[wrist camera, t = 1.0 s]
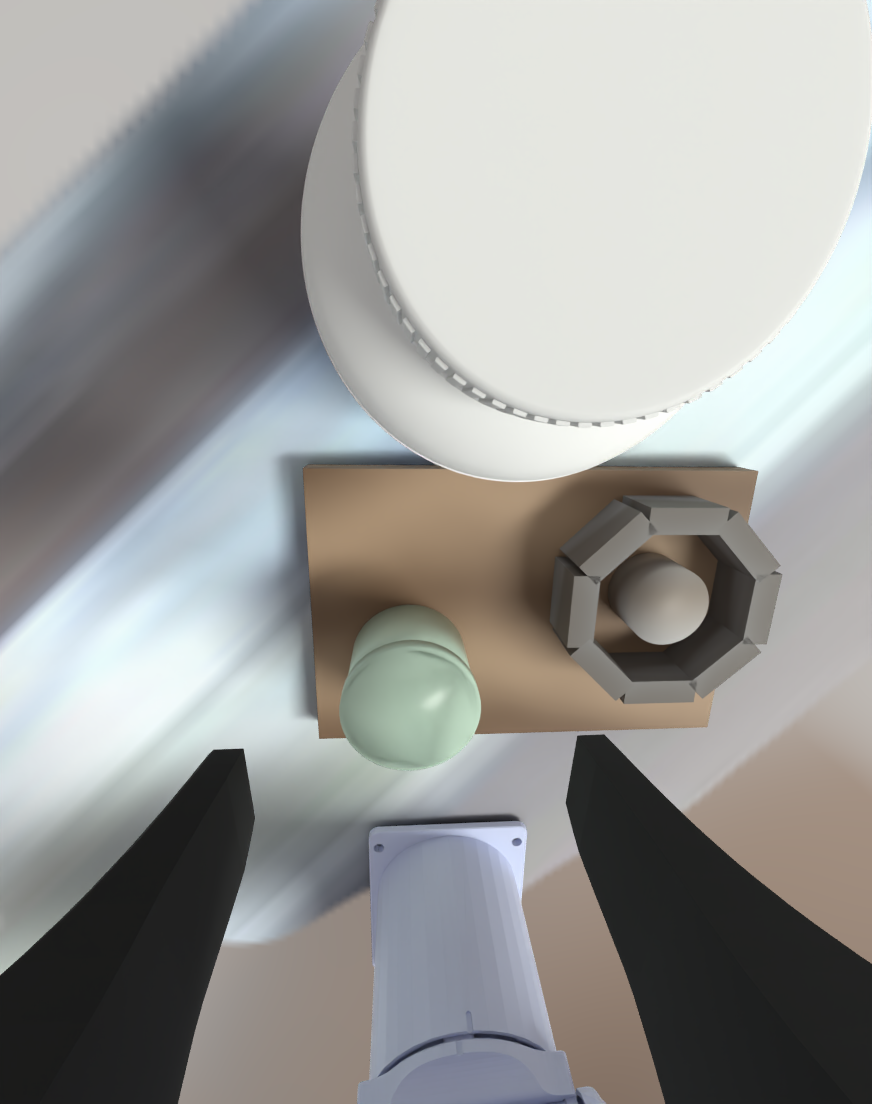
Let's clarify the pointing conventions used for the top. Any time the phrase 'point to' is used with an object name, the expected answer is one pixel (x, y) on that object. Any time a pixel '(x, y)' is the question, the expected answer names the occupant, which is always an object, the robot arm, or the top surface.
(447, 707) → the cap
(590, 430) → the pill bottle
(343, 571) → the stud board
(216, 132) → the top surface
